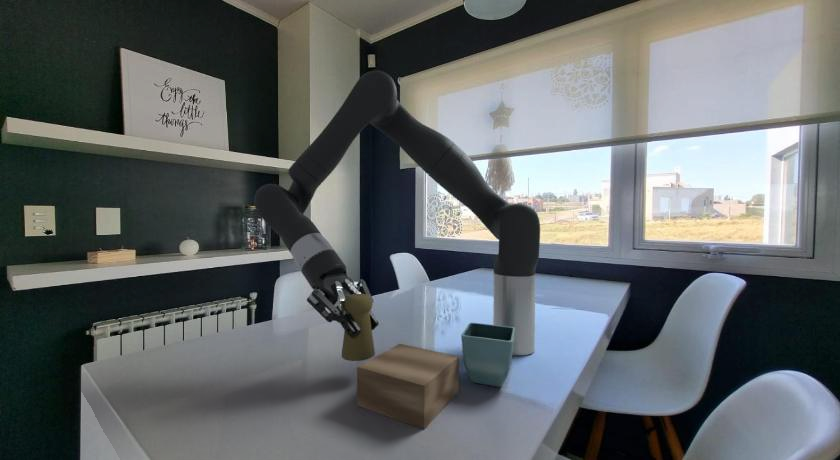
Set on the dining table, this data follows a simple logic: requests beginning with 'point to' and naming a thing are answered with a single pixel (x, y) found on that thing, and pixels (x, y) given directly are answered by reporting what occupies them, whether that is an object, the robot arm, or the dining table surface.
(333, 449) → the dining table surface
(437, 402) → the walnut block
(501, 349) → the flower pot
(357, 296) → the cork
